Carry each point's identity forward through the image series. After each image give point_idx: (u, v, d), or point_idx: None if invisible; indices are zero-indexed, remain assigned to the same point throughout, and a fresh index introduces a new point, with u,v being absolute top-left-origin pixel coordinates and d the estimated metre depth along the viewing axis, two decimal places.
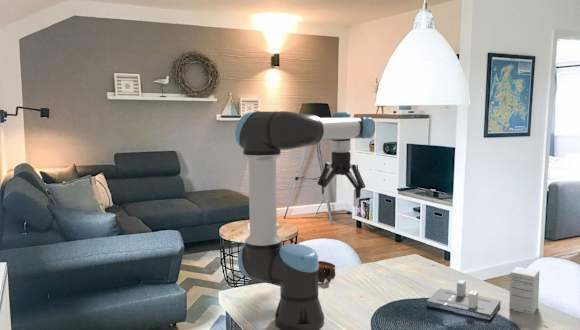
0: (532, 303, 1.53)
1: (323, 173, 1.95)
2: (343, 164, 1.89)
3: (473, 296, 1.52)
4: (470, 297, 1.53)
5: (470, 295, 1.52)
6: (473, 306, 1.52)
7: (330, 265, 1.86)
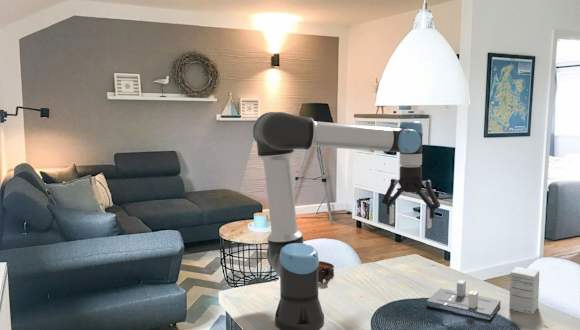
0: (532, 303, 1.53)
1: (389, 190, 1.72)
2: (414, 180, 1.67)
3: (473, 296, 1.52)
4: (470, 297, 1.53)
5: (470, 295, 1.52)
6: (473, 306, 1.52)
7: (328, 265, 1.86)
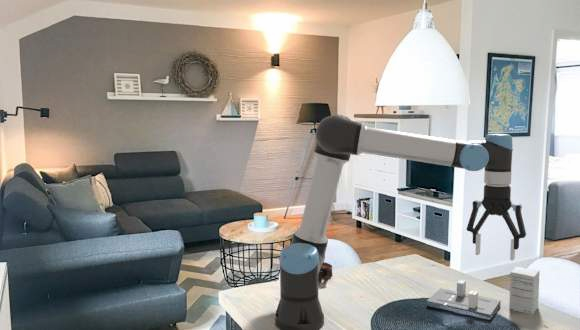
0: (532, 303, 1.53)
1: (473, 215, 1.50)
2: (502, 201, 1.45)
3: (473, 296, 1.52)
4: (470, 297, 1.53)
5: (470, 295, 1.52)
6: (473, 306, 1.52)
7: (327, 266, 1.85)
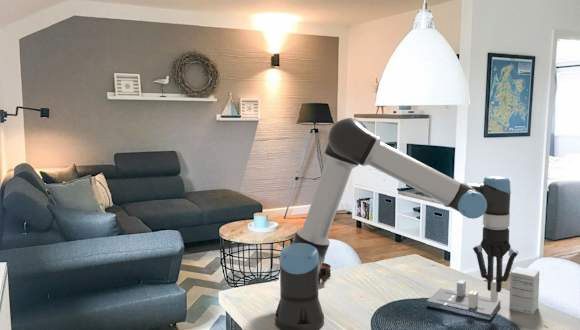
0: (532, 303, 1.53)
1: (480, 261, 1.50)
2: (503, 242, 1.46)
3: (473, 296, 1.52)
4: (470, 297, 1.53)
5: (470, 295, 1.52)
6: (473, 306, 1.52)
7: (325, 266, 1.85)
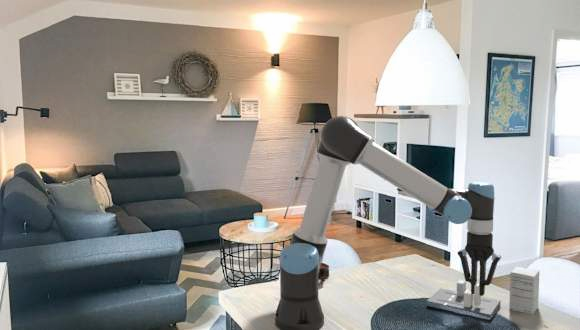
0: (532, 303, 1.53)
1: (464, 265, 1.53)
2: (486, 247, 1.49)
3: (468, 295, 1.53)
4: (465, 296, 1.53)
5: (465, 294, 1.53)
6: (468, 305, 1.53)
7: (324, 266, 1.85)
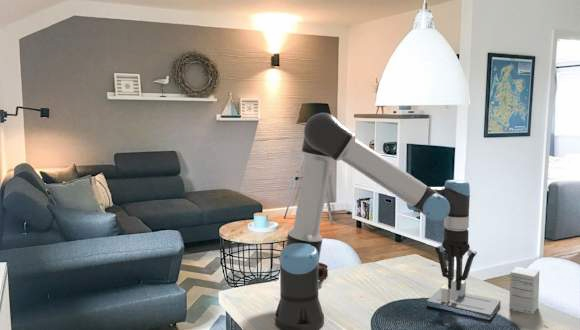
0: (532, 303, 1.53)
1: (441, 260, 1.57)
2: (462, 243, 1.53)
3: (445, 290, 1.57)
4: (443, 291, 1.57)
5: (443, 289, 1.57)
6: (446, 300, 1.57)
7: (322, 266, 1.85)
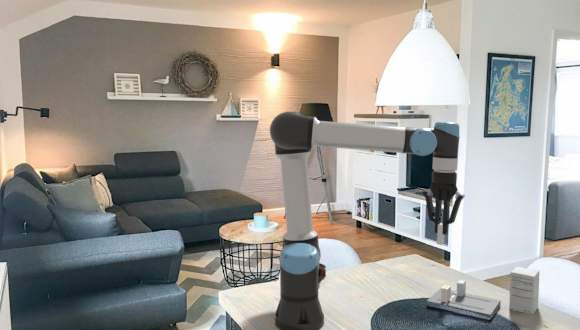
0: (532, 303, 1.53)
1: (428, 204, 1.55)
2: (450, 185, 1.51)
3: (445, 290, 1.57)
4: (443, 291, 1.57)
5: (443, 289, 1.57)
6: (445, 300, 1.57)
7: (320, 266, 1.85)
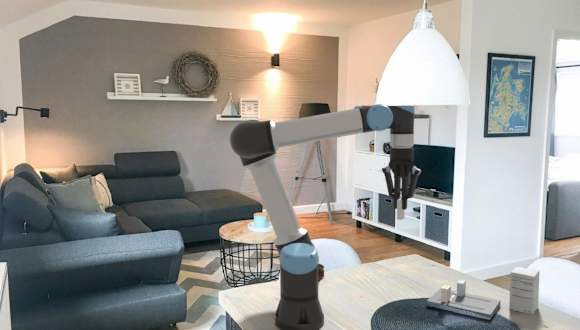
0: (532, 303, 1.53)
1: (387, 180, 1.58)
2: (407, 161, 1.54)
3: (445, 290, 1.57)
4: (443, 291, 1.57)
5: (443, 289, 1.57)
6: (445, 300, 1.57)
7: (319, 266, 1.85)
